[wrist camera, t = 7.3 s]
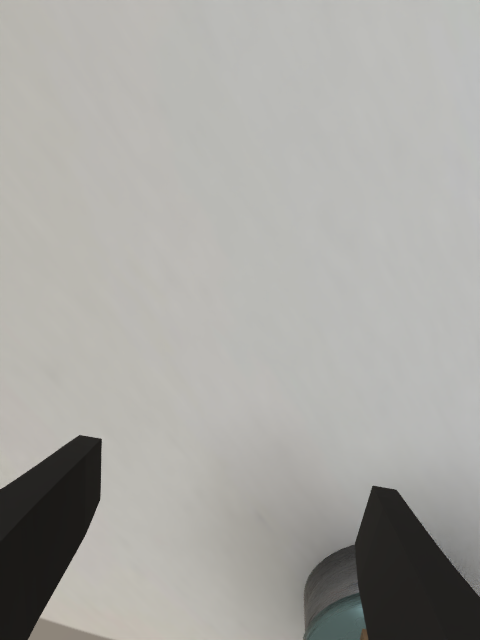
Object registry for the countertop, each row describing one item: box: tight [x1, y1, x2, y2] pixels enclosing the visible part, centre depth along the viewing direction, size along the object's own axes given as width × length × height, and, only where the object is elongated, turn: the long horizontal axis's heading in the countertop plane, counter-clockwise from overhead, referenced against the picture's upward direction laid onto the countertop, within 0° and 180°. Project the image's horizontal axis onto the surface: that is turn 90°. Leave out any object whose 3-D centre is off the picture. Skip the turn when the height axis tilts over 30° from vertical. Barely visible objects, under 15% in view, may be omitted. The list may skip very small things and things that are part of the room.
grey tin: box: [303, 545, 366, 640], centre depth 25 cm, size 9×9×4 cm
